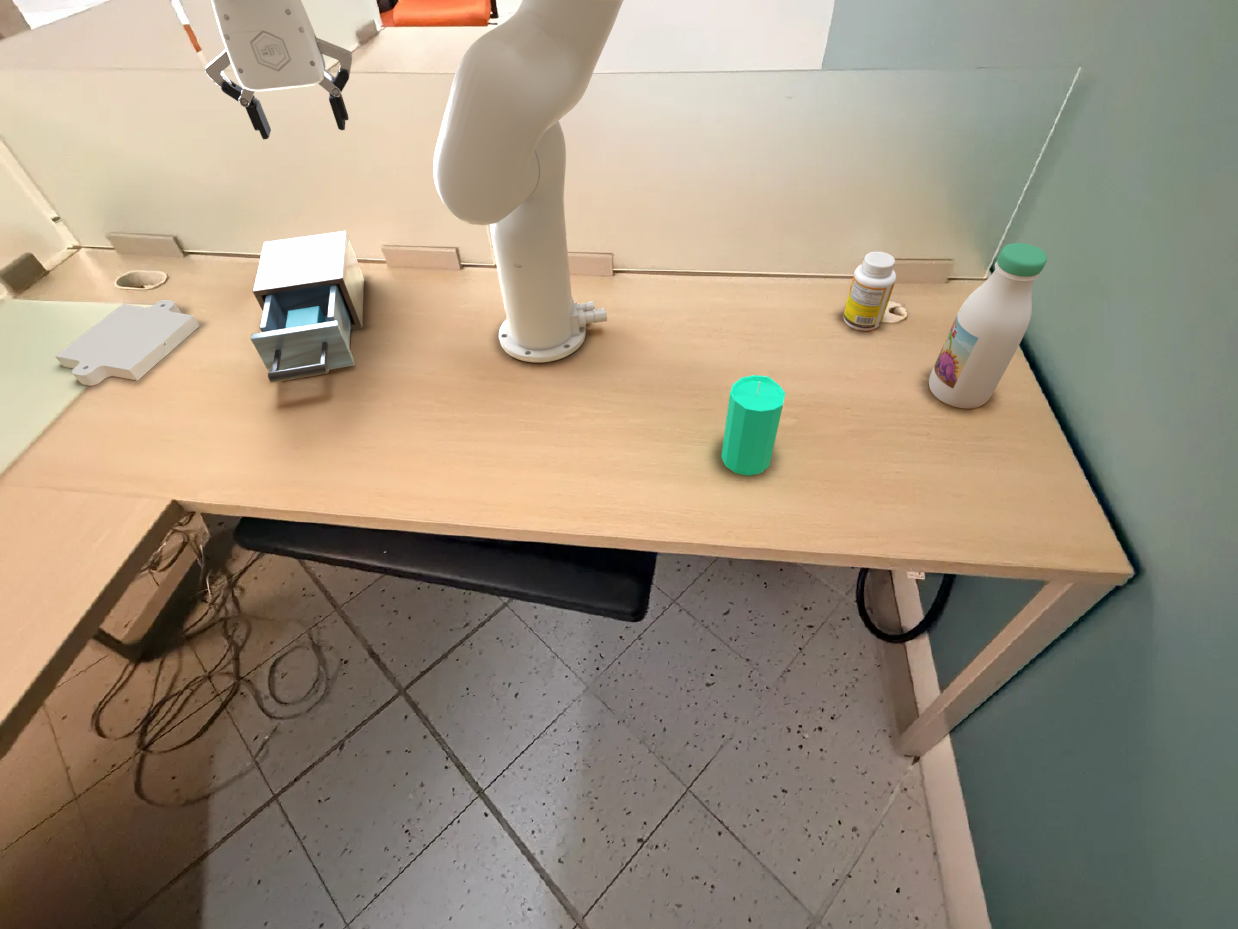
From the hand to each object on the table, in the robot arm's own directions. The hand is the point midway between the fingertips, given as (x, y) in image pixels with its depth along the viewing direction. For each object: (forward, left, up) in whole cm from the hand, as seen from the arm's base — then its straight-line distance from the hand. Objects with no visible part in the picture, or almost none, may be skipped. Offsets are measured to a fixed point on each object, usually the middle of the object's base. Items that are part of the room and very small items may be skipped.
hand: (305, 130), depth 87 cm
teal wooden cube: (+6, +15, -22) cm, 28 cm away
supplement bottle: (-72, +29, -24) cm, 81 cm away
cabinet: (+6, +4, -24) cm, 25 cm away
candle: (-46, +50, -24) cm, 72 cm away
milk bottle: (-77, +46, -24) cm, 93 cm away
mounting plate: (+33, +6, -24) cm, 42 cm away
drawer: (+6, +17, -23) cm, 30 cm away
